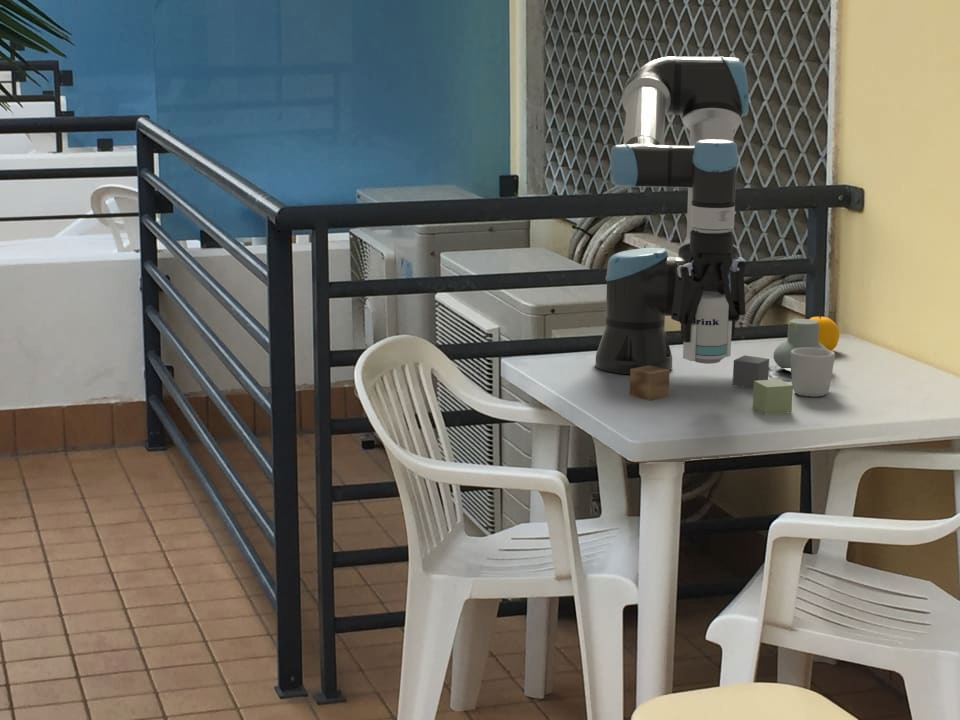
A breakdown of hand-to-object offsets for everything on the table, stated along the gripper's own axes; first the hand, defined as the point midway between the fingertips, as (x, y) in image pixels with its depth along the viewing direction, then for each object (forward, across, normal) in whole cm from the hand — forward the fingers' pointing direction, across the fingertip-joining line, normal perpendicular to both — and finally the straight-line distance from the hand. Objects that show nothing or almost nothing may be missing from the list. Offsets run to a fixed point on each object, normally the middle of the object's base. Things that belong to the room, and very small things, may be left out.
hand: (706, 356), depth 263 cm
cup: (+9, +23, -3) cm, 24 cm away
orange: (+10, +47, +25) cm, 54 cm away
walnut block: (+9, -6, +8) cm, 14 cm away
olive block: (+8, +8, -10) cm, 15 cm away
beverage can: (+1, 0, 0) cm, 1 cm away
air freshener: (+9, +32, +12) cm, 35 cm away
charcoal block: (+9, +16, +7) cm, 19 cm away
